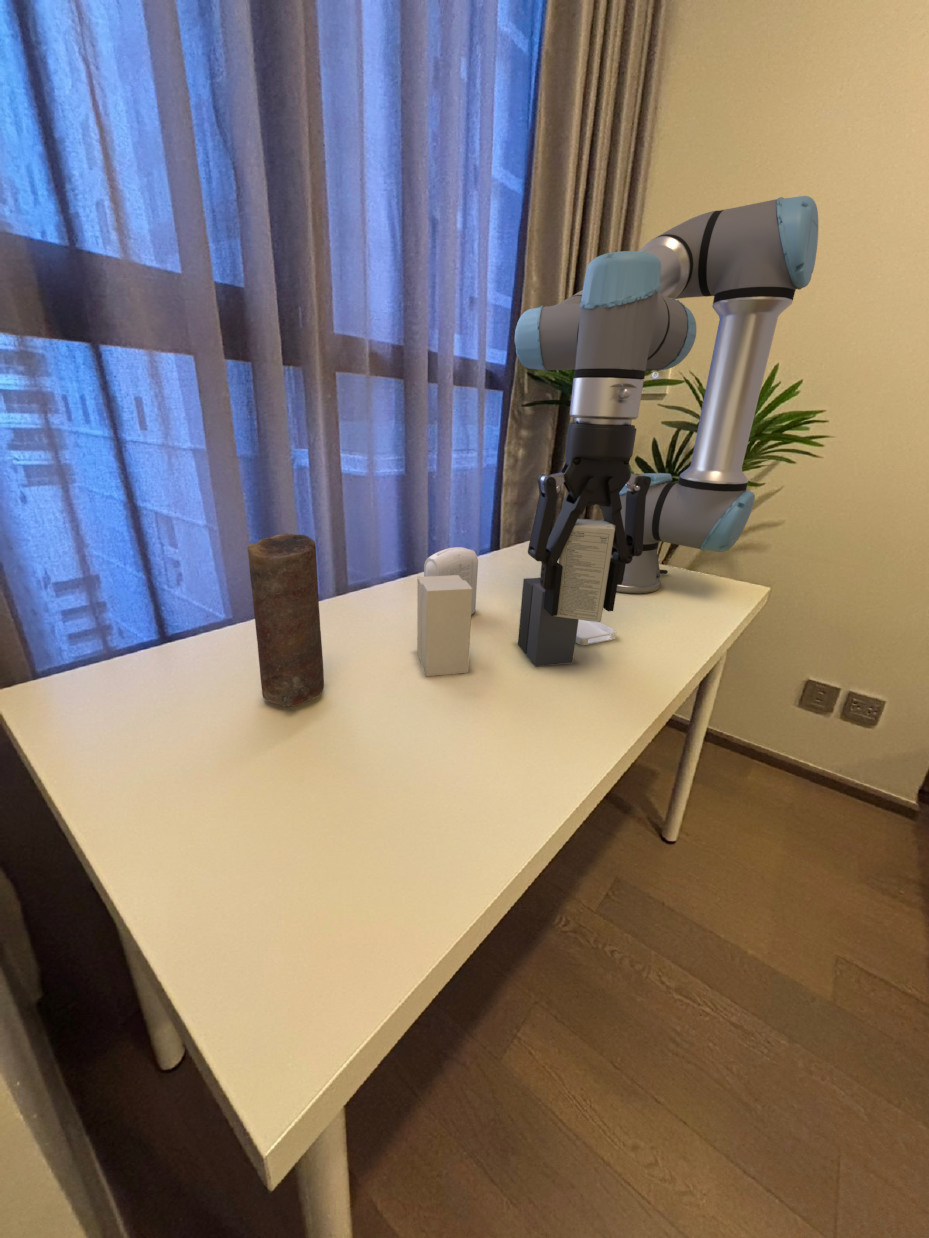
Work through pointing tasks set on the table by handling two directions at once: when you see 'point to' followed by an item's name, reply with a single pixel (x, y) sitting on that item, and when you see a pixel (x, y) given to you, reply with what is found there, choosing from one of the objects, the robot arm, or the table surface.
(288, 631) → the candle
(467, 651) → the white rectangular block
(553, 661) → the dark grey upright block
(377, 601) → the table surface
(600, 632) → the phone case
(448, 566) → the photo printer
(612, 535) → the cosmetic box
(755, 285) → the robot arm
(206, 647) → the table surface
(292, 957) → the table surface
